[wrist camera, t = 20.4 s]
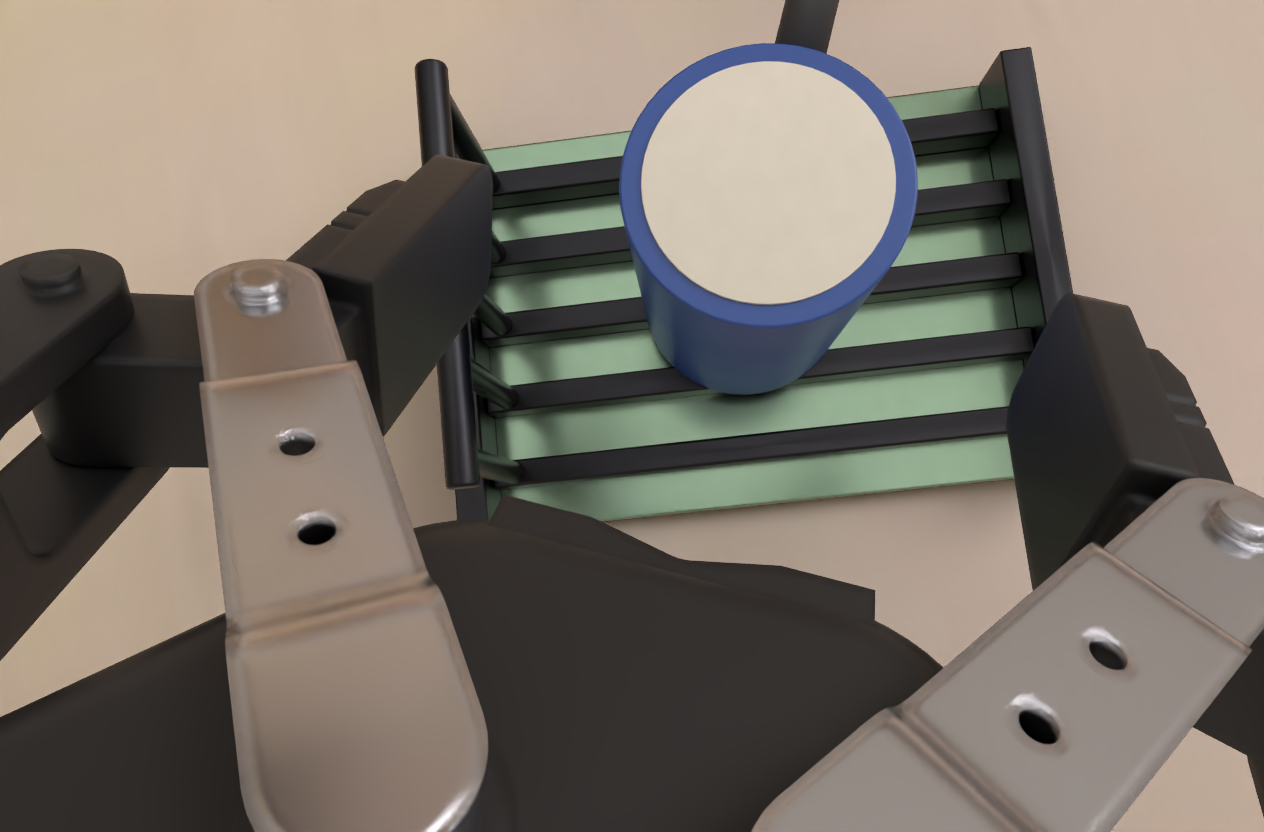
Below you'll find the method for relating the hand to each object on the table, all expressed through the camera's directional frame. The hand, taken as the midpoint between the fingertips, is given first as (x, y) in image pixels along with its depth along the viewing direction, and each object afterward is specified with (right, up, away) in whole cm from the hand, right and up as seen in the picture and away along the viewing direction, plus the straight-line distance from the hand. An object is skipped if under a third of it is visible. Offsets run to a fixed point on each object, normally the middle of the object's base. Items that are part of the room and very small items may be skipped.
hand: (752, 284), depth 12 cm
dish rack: (+1, +1, +12) cm, 13 cm away
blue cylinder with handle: (+2, +4, +11) cm, 12 cm away
